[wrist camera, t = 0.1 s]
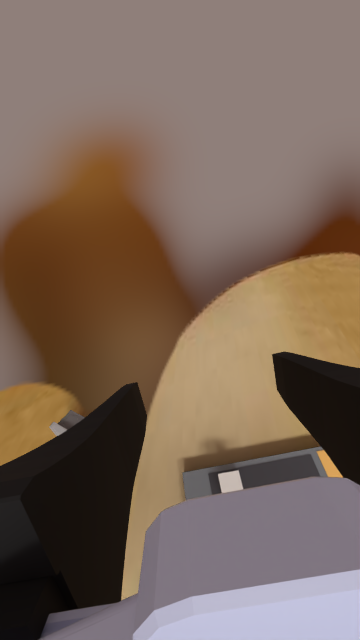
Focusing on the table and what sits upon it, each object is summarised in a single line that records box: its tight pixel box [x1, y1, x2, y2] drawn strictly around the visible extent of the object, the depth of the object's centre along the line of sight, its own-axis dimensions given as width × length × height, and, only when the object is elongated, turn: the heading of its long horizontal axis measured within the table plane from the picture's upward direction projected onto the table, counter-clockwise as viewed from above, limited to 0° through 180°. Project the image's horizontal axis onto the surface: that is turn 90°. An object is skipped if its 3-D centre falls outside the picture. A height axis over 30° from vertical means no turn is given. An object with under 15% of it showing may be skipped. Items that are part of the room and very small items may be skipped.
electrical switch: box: [49, 410, 85, 436], centre depth 37 cm, size 9×5×9 cm, turn 67°
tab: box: [218, 470, 243, 493], centre depth 31 cm, size 3×3×3 cm
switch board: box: [182, 447, 343, 500], centre depth 30 cm, size 13×24×2 cm, turn 98°
